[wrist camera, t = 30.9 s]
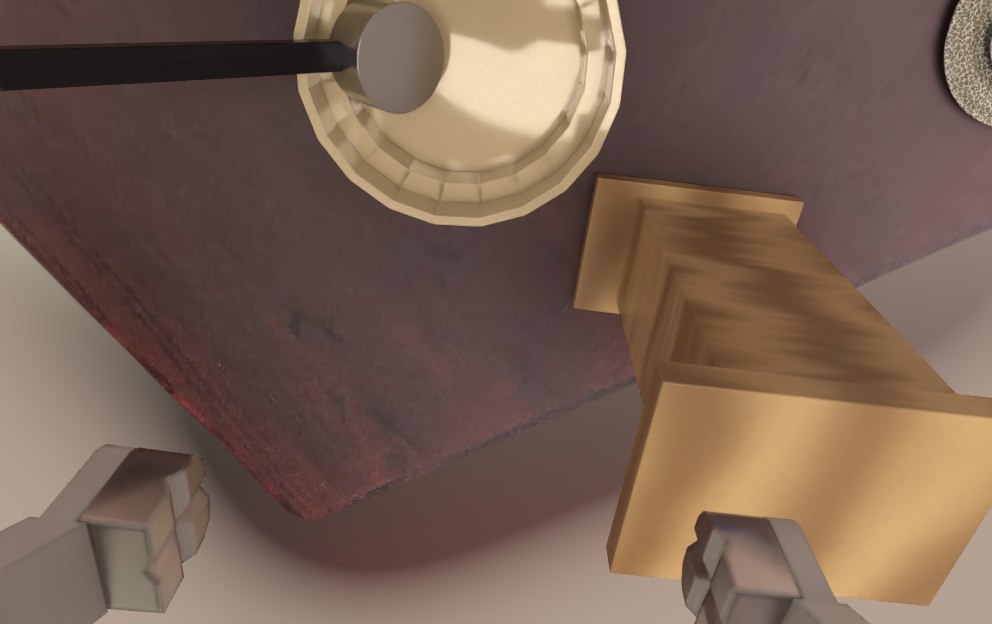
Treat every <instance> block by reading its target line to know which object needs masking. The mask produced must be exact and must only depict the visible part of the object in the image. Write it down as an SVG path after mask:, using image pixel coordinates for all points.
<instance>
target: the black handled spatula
mask: <svg viewBox="0 0 992 624" xmlns="http://www.w3.org/2000/svg"><path fill="white" fill-rule="evenodd" d="M443 65H444V47H443V41H442V37H441V34H440V31H439V28H438V26H437V24H436V23H435V21H434V19H433V18H432V17H431V16H430V14H429V13H427V12H426V11H425V10H424V9H423V8H421V7H420V6H418V5H416V4H413V3H409V2H404V1H398V0H356V1H354V2H353V3H351V4H350V5H349V6H347V7H346V8H345V9H344V10H343V11H342V12H341V14H340V15H339V17H338V18H337V20H336V22H335V24H334V26H333V29H332V31H331V35H330V39H300V40H253V41H206V42H160V43H113V44H66V45H20V46H0V91H9V90H27V89H45V88H63V87H80V86H98V85H116V84H134V83H151V82H169V81H187V80H205V79H222V78H240V77H258V76H276V75H294V74H311V73H329V72H332V74H333V76H334V78H335V81H336V82H337V84H338V85H339V87H340V88H341V89H342V91H343V92H344V93H345V94H346V95H347V96H349V97H350V98H352V99H353V100H355V101H357V102H360V103H362V104H365V105H368V106H371V107H374V108H377V109H380V110H383V111H385V112H389V113H393V114H404V113H409V112H411V111H414V110H416V109H418V108H419V107H421V106H422V105H423V104H424V103H425V102H426V101H427V100H428V99H429V98H430V97H431V96H432V94H433V93H434V91H435V89H436V87H437V86H438V83H439V81H440V78H441V75H442V71H443Z"/></svg>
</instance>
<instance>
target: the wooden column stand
mask: <svg viewBox="0 0 992 624" xmlns="http://www.w3.org/2000/svg"><path fill="white" fill-rule="evenodd" d="M803 205H804V202H803V201H802V200H801V199H800V198H799V197H797V196H789V195H780V194H772V193H763V192H755V191H747V190H738V189H730V188H722V187H713V186H705V185H696V184H688V183H680V182H671V181H663V180H654V179H646V178H638V177H629V176H621V175H612V174H604V173H596V177H595V182H594V187H593V193H592V198H591V203H590V209H589V214H588V220H587V225H586V230H585V236H584V241H583V246H582V252H581V257H580V262H579V268H578V273H577V278H576V284H575V289H574V294H573V300H572V303H573V308H574V309H581V310H590V311H599V312H607V313H616V314H620V317H621V321H622V325H623V329H624V333H625V337H626V340H627V344H628V348H629V352H630V356H631V360H632V364H633V367H634V371H635V375H636V379H637V383H638V387H639V390H640V394H641V398H642V402H643V406H644V407H643V411H642V415H641V419H640V422H639V426H638V430H637V433H636V437H635V441H634V445H633V448H632V452H631V456H630V460H629V463H628V467H627V471H626V475H625V478H624V482H623V486H622V490H621V493H620V497H619V501H618V504H617V508H616V512H615V516H614V519H613V523H612V527H611V531H610V534H609V538H608V542H607V546H606V548H607V555H608V562H609V569H610V572H611V573H619V574H629V575H638V576H648V577H658V578H667V579H677V580H681V576H682V564H683V559H684V556H685V553H686V549H687V547H688V546H689V545H691V544H692V543H694V542H695V541H697V537H696V533H695V529H694V526H695V524H696V521H697V518H698V516H699V515H700V514H701V513H702V511H710V512H720V513H730V514H740V515H750V516H760V517H773V518H783V519H794V520H795V521H796V522H798V523H799V524H800V526H801V528H802V530H803V532H804V534H805V536H806V538H807V540H808V542H809V544H810V546H811V549H812V551H813V553H814V555H815V557H816V559H817V561H818V563H819V565H820V567H821V569H822V571H823V573H824V575H825V577H826V579H827V582H828V584H829V586H830V588H831V590H832V592H833V594H834V596H838V597H847V598H857V599H867V600H876V601H886V602H895V603H904V604H914V605H923V606H928V605H930V603H931V601H932V600H933V598H934V597H935V595H936V593H937V592H938V590H939V588H940V587H941V586H942V584H943V582H944V581H945V579H946V578H947V576H948V574H949V573H950V571H951V570H952V568H953V566H954V565H955V563H956V562H957V560H958V558H959V557H960V555H961V554H962V552H963V550H964V549H965V547H966V546H967V544H968V542H969V541H970V539H971V538H972V536H973V534H974V533H975V531H976V530H977V528H978V527H979V525H980V523H981V522H982V520H983V519H984V517H985V516H986V514H987V512H988V511H989V509H990V507H991V506H992V398H987V397H977V396H969V395H960V394H956V393H955V392H954V391H953V390H952V389H951V388H950V387H949V386H948V385H947V383H946V382H944V380H943V379H942V378H941V377H940V376H939V375H938V374H937V373H936V372H935V371H934V370H933V369H932V368H931V367H930V366H929V365H928V364H927V363H926V361H924V359H923V358H922V357H921V356H920V355H919V354H918V353H917V352H916V351H915V350H914V349H913V348H912V347H911V346H910V345H909V344H908V343H907V342H906V341H905V340H904V338H903V337H902V336H901V335H900V334H899V333H898V332H897V331H896V330H895V329H894V328H893V327H892V326H891V325H890V324H889V323H888V322H887V321H886V320H885V319H884V318H883V317H882V315H880V313H879V312H878V311H877V310H876V309H875V308H874V307H873V306H872V305H871V304H870V303H869V302H868V301H867V300H866V299H865V298H864V297H863V296H862V295H861V294H860V292H858V290H857V289H856V288H855V287H854V286H853V285H852V284H851V283H850V282H849V281H848V280H847V279H846V278H845V277H844V276H843V275H842V274H841V273H840V272H839V270H838V269H837V268H836V267H835V266H834V265H833V264H832V263H831V262H830V261H829V260H828V259H827V258H826V257H825V256H824V255H823V254H822V253H821V252H820V251H819V250H818V249H817V247H816V246H815V245H814V244H813V243H812V242H811V241H810V240H809V239H808V238H807V237H806V236H805V235H804V234H803V233H802V232H801V231H800V230H799V229H798V228H797V227H796V225H797V222H798V220H799V217H800V214H801V211H802V208H803Z"/></svg>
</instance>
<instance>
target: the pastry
mask: <svg viewBox="0 0 992 624" xmlns="http://www.w3.org/2000/svg"><path fill="white" fill-rule="evenodd" d="M944 70H945V76H946V80H947V84H948V86H949V89H950V91H951V93H952V95H953V97H954V99H955V100H956V101H957V102H958V104H959V106H960V107H961V108H962V109H963V110H964V111H965V112H966V113H968V114H969V115H971V116H972V117H973V118H975V119H976V120H978V121H980V122H981V123H984V124H986V125H988V126H991V127H992V0H960V1H959V3H958V5H957V6H956V9H955V11H954V14H953V16H952V19H951V22H950V25H949V30H948V33H947V38H946V41H945V46H944Z"/></svg>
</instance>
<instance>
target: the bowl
mask: <svg viewBox="0 0 992 624" xmlns="http://www.w3.org/2000/svg"><path fill="white" fill-rule="evenodd" d="M354 1H356V0H301V1H300V5H299V10H298V15H297V20H296V25H295V29H294V34H293V36H294V37H293V39H294V40H300V39H330V35H331V31H332V29H333V26H334V24H335V22H336V20H337V18H338V17H339V15H340V14H341V12H342V11H343V10H344V9H345V8H346V7H347V6H349V5H350V4H351V3H353V2H354ZM398 1H404V2H409V3H413V4H416V5H418V6H420V7H421V8H423V9H424V10H425V11H426V12H427V13H429V14H430V16H431V17H432V18H433V19H434V21H435V23H436V24H437V26H438V28H439V31H440V34H441V37H442V41H443V47H444V65H443V71H442V75H441V78H440V81H439V83H438V86H437V87H436V89H435V91H434V93H433V94H432V96H431V97H430V98H429V99H428V100H427V101H426V102H425V103H424V104H423V105H422V106H421V107H419V108H418V109H416V110H414V111H411V112H409V113H404V114H393V113H389V112H385V111H383V110H380V109H377V108H374V107H371V106H368V105H365V104H362V103H360V102H357V101H355V100H353V99H352V98H350V97H349V96H347V95H346V94H345V93H344V92H343V91H342V89H341V88H340V87H339V85H338V84H337V82H336V81H335V78H334V76H333V74H332V72H329V73H311V74H297V81H298V90H299V94H300V96H301V99H302V101H303V103H304V106H305V108H306V111H307V113H308V116H309V118H310V121H311V123H312V126H313V128H314V131H315V133H316V136H317V138H318V139H319V141H320V143H321V144H322V145H323V146H324V148H325V149H326V150H327V152H328V153H329V154H330V155H331V157H332V158H333V159H334V161H335V162H336V163H337V164H338V166H339V167H340V168H341V169H342V171H343V172H344V173H345V175H346V176H347V177H348V178H349V179H350V180H351V181H352V182H353V183H355V184H356V185H358V186H359V187H360V188H362V189H363V190H365V191H366V192H367V193H369V194H370V195H371V196H373V197H374V198H376V199H377V200H378V201H380V202H381V203H382V204H384V205H385V206H387V207H388V208H390V209H393V210H395V211H398V212H401V213H404V214H407V215H409V216H412V217H415V218H418V219H421V220H423V221H426V222H429V223H432V224H440V225H460V226H485V225H489V224H493V223H497V222H501V221H505V220H509V219H513V218H517V217H521V216H525V215H527V214H528V213H530V212H532V211H533V210H535V209H537V208H538V207H540V206H542V205H543V204H545V203H546V202H548V201H550V200H551V199H553V198H555V197H556V196H558V195H560V194H561V193H563V192H565V191H566V190H567V189H568V188H569V187H570V185H571V184H572V183H573V182H574V181H575V180H576V179H577V178H578V176H579V175H580V174H581V173H582V172H583V171H584V170H585V169H586V167H587V166H588V165H589V164H590V163H591V162H592V161H593V159H594V158H595V157H596V156H597V155H598V153H599V152H600V149H601V147H602V145H603V143H604V141H605V138H606V136H607V134H608V132H609V129H610V127H611V125H612V123H613V121H614V118H615V116H616V114H617V112H618V110H619V107H620V102H621V94H622V86H623V78H624V70H625V62H626V54H627V53H626V45H625V39H624V34H623V28H622V22H621V17H620V11H619V6H618V0H398Z"/></svg>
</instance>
